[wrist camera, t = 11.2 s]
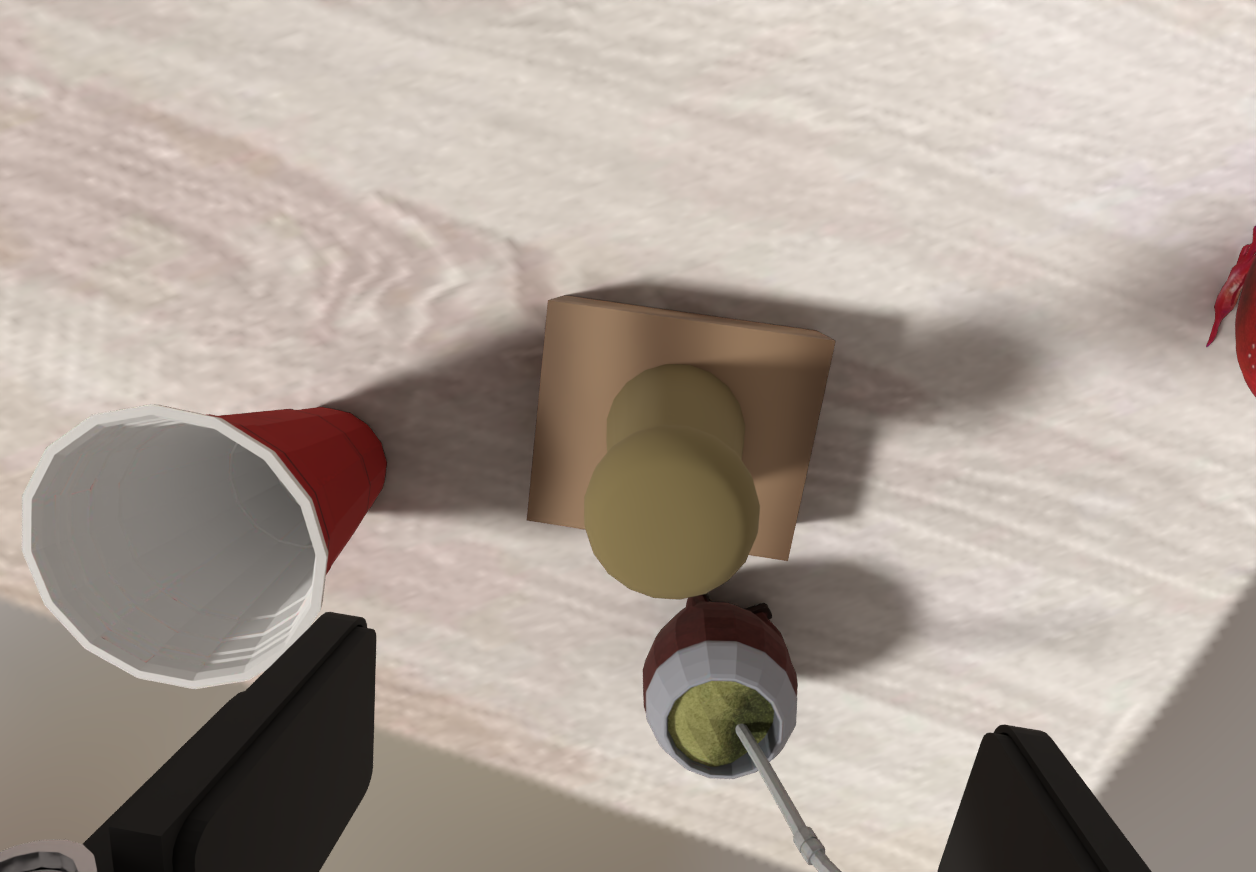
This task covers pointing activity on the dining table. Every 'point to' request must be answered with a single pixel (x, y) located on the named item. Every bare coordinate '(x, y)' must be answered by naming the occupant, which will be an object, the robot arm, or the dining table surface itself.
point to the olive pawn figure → (673, 486)
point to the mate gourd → (727, 700)
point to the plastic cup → (196, 533)
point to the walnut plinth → (650, 337)
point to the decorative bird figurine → (1241, 310)
